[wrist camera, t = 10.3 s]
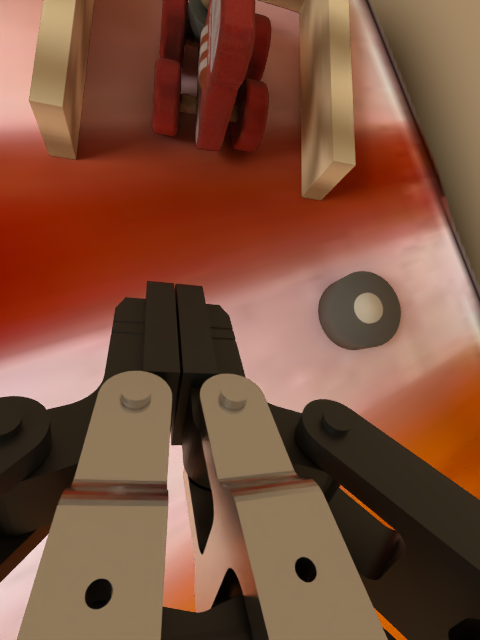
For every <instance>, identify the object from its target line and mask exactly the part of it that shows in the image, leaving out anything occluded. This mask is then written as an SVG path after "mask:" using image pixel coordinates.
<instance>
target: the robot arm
mask: <svg viewBox="0 0 480 640" xmlns="http://www.w3.org/2000/svg"><path fill="white" fill-rule="evenodd" d="M232 329H233V328H232V325H231V321H230V317H229V315H228V314H227V313H226V312H225V311H224V310H223V309H222V308H221V306H220V305H212V304H206V303H205V297H204V292H203V287H202V286H195V285H184V284H176V285H175V288H174V283H164V282H153V281H147V288H146V299H139V298H127V297H126V298H125V299H124V300H123V301H122V302H121V303H120V304H119V305H118V306H117V307H116V308H115V314H114V320H113V327H112V334H111V339H110V345H109V351H108V357H107V363H106V369H105V375H104V379H103V381H102V383H101V385H100V386H99V387H98V389H97V390H96V391H94V392H93V393H92V394H91V395H89V396H88V397H86V398H84V399H82V400H80V401H78V402H75V403H72V404H69V405H65V406H60V407H56V408H52V409H48V410H46V409H45V407H44V406H43V405H42V404H40V403H39V402H37V401H35V400H33V399H30V398H26V397H19V396H9V397H1V398H0V582H1V581H2V580H3V579H4V578H5V577H6V576H7V575H8V574H9V573H10V572H11V571H12V570H13V569H14V568H15V567H16V566H17V565H18V564H19V563H20V562H21V561H22V560H23V559H24V558H25V557H26V556H27V555H28V554H29V553H30V552H31V551H32V550H33V549H34V548H35V547H36V546H37V545H38V544H39V543H40V542H41V541H42V540H43V539H44V538H45V537H46V536H47V535H48V534H49V535H48V538H47V541H46V545H45V548H44V551H43V555H42V558H41V561H40V564H39V568H38V571H37V574H36V578H35V581H34V584H33V588H32V591H31V594H30V598H29V601H28V604H27V607H26V611H25V614H24V617H23V621H22V624H21V627H20V631H19V634H18V637H17V640H396V639H395V638H394V637H393V636H392V635H391V634H390V633H389V632H388V631H386V630H385V629H384V628H383V627H382V625H381V623H380V621H379V619H378V616H377V614H376V612H375V610H374V608H375V609H376V610H377V611H378V612H379V613H380V614H381V615H383V616H384V617H385V618H386V619H387V620H388V621H389V622H390V623H391V624H392V625H393V626H394V627H395V628H396V629H397V630H398V631H399V632H400V633H401V634H402V635H403V636H404V637H405V638H407V639H408V640H480V500H479V499H477V498H476V497H474V496H473V495H472V494H470V493H469V492H467V491H466V490H464V489H463V488H462V487H460V486H459V485H457V484H456V483H455V482H453V481H452V480H450V479H449V478H447V477H446V476H445V475H443V474H442V473H440V472H439V471H437V470H436V469H435V468H433V467H432V466H430V465H429V464H428V463H426V462H425V461H423V460H422V459H420V458H419V457H418V456H416V455H415V454H413V453H412V452H411V451H409V450H408V449H406V448H405V447H403V446H402V445H401V444H399V443H398V442H396V441H395V440H394V439H392V438H391V437H389V436H388V435H386V434H385V433H384V432H382V431H381V430H379V429H378V428H376V427H375V426H374V425H372V424H371V423H369V422H368V421H367V420H365V419H364V418H362V417H361V416H359V415H358V414H357V413H355V412H354V411H352V410H351V409H349V408H348V407H346V406H345V405H343V404H341V403H338V402H335V401H332V400H326V399H319V400H314V401H312V402H310V403H308V404H307V405H306V406H305V408H304V410H303V412H302V413H299V412H295V411H292V410H288V409H284V408H281V407H277V406H274V405H272V404H270V403H267V401H266V399H265V396H264V394H263V392H262V391H261V389H260V388H259V387H258V386H257V385H256V384H255V383H254V382H252V381H251V380H249V379H247V378H245V374H244V370H243V366H242V362H241V359H240V355H239V351H238V347H237V343H236V341H235V336H234V332H233V331H232ZM170 432H171V445H182V449H183V463H184V471H183V479H184V486H185V493H186V500H187V507H188V514H189V521H190V528H191V536H192V543H193V550H194V557H195V604H196V612H189V611H183V610H178V609H172V608H167V607H163V589H164V571H165V553H166V535H167V518H168V490H167V473H168V457H169V440H170ZM340 485H342V486H343V487H344V488H345V489H347V490H348V491H349V492H350V493H352V494H353V495H354V496H355V497H356V498H358V499H359V500H360V501H361V502H362V503H364V504H365V505H366V506H367V507H369V508H370V509H371V510H372V511H373V512H375V513H376V514H377V515H378V516H379V517H381V518H382V519H383V520H384V521H385V522H387V523H388V524H389V525H390V526H392V527H393V528H394V529H395V530H392V529H390V528H388V527H386V526H385V525H383V524H382V523H381V522H380V521H378V520H377V519H376V518H375V517H374V516H372V515H371V514H370V513H369V512H368V511H366V510H365V509H364V508H363V507H362V506H360V505H359V504H358V503H357V502H356V501H354V500H353V499H352V498H351V497H350V496H348V495H347V494H346V493H345V492H343V491H342V490H341V489H340V488H339V487H340Z"/></svg>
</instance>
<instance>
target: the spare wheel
mask: <svg viewBox="0 0 480 640" xmlns="http://www.w3.org/2000/svg"><path fill="white" fill-rule="evenodd" d="M318 314H319V320H320V324H321V326H322V329H323V330H324V332H325V334H326V335H327V336H328V338H329V339H330V340H331V341H332V342H334V343H335V344H336V345H338V346H340V347H342V348H345V349H349V350H358V349H364V348H370V347H375V346H379V345H382V344H384V343H386V342H388V341H389V340H390V339H391V338H392V337H393V336H394V334H395V333H396V331H397V329H398V327H399V323H400V317H401V311H400V304H399V301H398V298H397V295H396V293H395V292H394V290H393V288H392V287H391V286H390V285H389V284H388V282H387V281H385V280H384V279H383V278H381V277H380V276H378V275H376V274H374V273H371V272H365V271H360V272H354V273H352V274H349V275H348V276H346V277H344V278H342V279H340V280H338V281H336V282H335V283H333V284H331V285H330V286H329V287H328V288H327V289H326V290H325V291H324V293H323V294H322V296H321V299H320V302H319V308H318Z"/></svg>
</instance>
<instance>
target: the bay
mask: <svg viewBox="0 0 480 640" xmlns="http://www.w3.org/2000/svg"><path fill="white" fill-rule="evenodd" d="M260 1H264V2H267V3H270V4H273V5H277V6H280V7H283V8H287V9H290V10H293V11H296V12H300V87H301V166H302V197H303V198H309V199H315V200H322V199H323V198H324V197H325V196H326V195H327V194H328V193H329V192H330V191H331V190H332V189H333V188H334V187H335V186H336V185H337V184H338V183H339V182H340V181H341V179H342V178H343V177H344V176H345V175H346V174H347V173H348V172H349V171H350V170H351V169H352V168H353V167H354V166H355V165H356V162H355V139H354V115H353V92H352V69H351V45H350V22H349V0H260ZM93 7H94V0H43V6H42V13H41V20H40V27H39V34H38V41H37V48H36V55H35V61H34V68H33V75H32V82H31V89H30V96H29V102H30V105H31V107H32V110H33V113H34V115H35V118H36V121H37V123H38V126H39V129H40V132H41V134H42V137H43V140H44V142H45V145H46V148H47V150H48V153H49V155H51V156H57V157H63V158H69V159H75V160H76V157H77V148H78V139H79V130H80V121H81V112H82V104H83V95H84V86H85V77H86V68H87V60H88V51H89V42H90V33H91V24H92V15H93Z"/></svg>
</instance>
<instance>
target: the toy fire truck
mask: <svg viewBox="0 0 480 640" xmlns="http://www.w3.org/2000/svg"><path fill="white" fill-rule="evenodd" d="M270 40H271V23H270V20H269V18H267V17H266V16H263V15H259V14H255V0H189V3H188V0H163V9H162V24H161V40H160V58H158V60H157V61H156V65H155V81H154V98H153V117H152V130H153V131H154V132H155V133H157V134H163V135H168V136H174V135H175V134H176V132H177V128H178V119H179V111H182V112H185V113H190V114H196V147H197V149H202V150H210V151H218V150H220V149H221V147H222V144H223V140H224V137H225V133H226V130H227V126H228V124H229V121H230V122H232V123H231V142H232V146H233V147H234V148H235V149H237V150H242V151H248V152H253V151H255V150H256V149H257V147H258V146H259V144H260V142H261V139H262V136H263V133H264V129H265V125H266V120H267V114H268V105H269V93H268V89H267V86H266V84H265V83H263V82H260V80H261V78H262V75H263V72H264V69H265V65H266V62H267V57H268V52H269V47H270ZM185 45H189V46H193V47H198V88H197V89H198V90H197V98H196V97H194V96H191V95H187V94H180V92H181V68H182V64H183V56H184V46H185ZM239 86H240V87H239ZM234 102H235V103H234Z"/></svg>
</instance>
